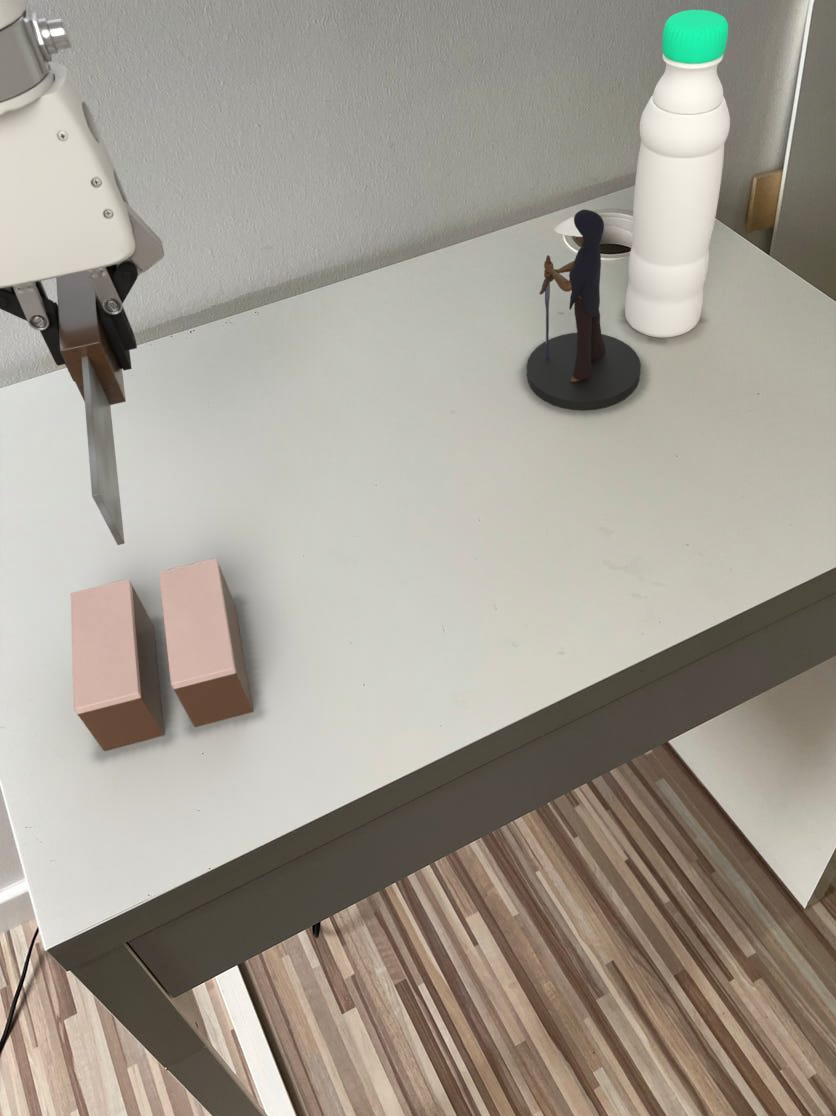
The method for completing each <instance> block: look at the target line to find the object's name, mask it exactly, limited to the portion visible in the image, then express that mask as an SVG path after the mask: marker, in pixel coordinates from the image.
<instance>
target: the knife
mask: <svg viewBox="0 0 836 1116" xmlns="http://www.w3.org/2000/svg"><path fill="white" fill-rule="evenodd" d="M55 280H56V295H57V296H56V297H57V298H56V299H57V305H58V318H59V337H60V352H61V354H62V356H63V358H64V360H65V362H66V364H67V366H68V368H69V370H70V372H71V375H72V377H73V379H74V381H75V385H76V387H77V389H78V391H79V393H80V395H81V398H82V399H83V401H84V409H85V410H84V411H85V421H86V435H87V437H86V438H87V449H88V461H89V474H90V475H89V477H90V489H91V497H92V499H93V501H94V503H95V505H96V507H97V508H98V511H99V512H100V514H101V515H102V518H103V520H104V522H105V524H106V525H107V528H108V530H109V531H110V533H111V535H112V537H113V539H114V541H115V542H116V545H117V546H121V545H124V544H125V534H124V533H125V532H124V524H123V515H122V514H123V513H122V505H121V504H122V503H121V495H120V486H119V485H120V484H119V476H118V475H119V474H118V466H117V457H116V447H115V437H114V428H113V417H112V409H111V408H112V407H111V406H113V405H117V404H122V403H126V402H127V400H126V391H125V382H124V374H123V369H120V367H119V365H118V362H117V360H116V358H115V355H114V353H113V350H112V348H111V346H110V343H109V341H108V339H107V336H106V334H105V332H104V329H103V327H102V325H101V322H100V317H99V307H98V302H97V295H96V293H95V291H94V289H93V287H92V285H91V283H90V280H89V278H88V276H87V274H86V272H80V273H76V274H71V275H66V276H61V277H57V278H55ZM71 375H70V376H71ZM72 377H71V378H72ZM73 379H72V380H73ZM74 381H73V382H74Z"/></svg>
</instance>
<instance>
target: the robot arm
mask: <svg viewBox="0 0 836 1116" xmlns="http://www.w3.org/2000/svg"><path fill="white" fill-rule="evenodd" d="M67 49H72V43H71V39H70V37H69V33H68V30H67V27H66V25H65V21H64V20H63V18H62V17H58V18H52V19H48V18H47V17H45V16H44V17H39V16H38V13H37V12H36V11H35V12H32V10H31V7H30V4H29V2H28V1H27V0H0V310H1V311H3V312H6V313H8V314H11V315H13V316H15V317H17V318H20V319H21V320H24V321H26V322H27V323H28V326H29V327H31V328H32V329H33V330H35V331H39V332H40V334H41V336H42V339H43V341H44V343H45V344H46V347H47V348H48V351H49V353H50V354H51V357H52V358H53V359H52V360H53V361H54V363H55V365H56V366H57V367H58V366H63V365H65V367H66V369H67V372H68V373H69V375H70V378H71V379H72V381H73V383H74V382H75V381H74V379H73V377H72V375H71V372H70V370H69V368H68V366H67V364H66V362H65V360H64V358H63V356H62V354H61V352H60V337H59V318H58V302H57V301H53V300H52V299H50V298H49V297H48V294H47V291H46V289H45V286H44V284H43V282H42V281H46V280H51V279H56V278H57V277H61V276H66V275H71V274H76V273H80V272H86V274H87V276H88V278H89V280H90V283H91V285H92V287H93V289H94V291H95V293H96V295H97V302H98V307H99V317H100V322H101V325H102V327H103V329H104V332H105V334H106V336H107V339H108V341H109V343H110V346H111V348H112V350H113V353H114V355H115V358H116V360H117V362H118V365H119V367H120V369H122V371H127V370H128V371H129V370H132V369H133V368H132V367H133V366H132V361H131V352H130V351H131V350H136V349H137V348H138V345H137V339H136V337H135V334H134V333H135V332H134V331H133V328H132V325H131V323H130V321H129V319H128V316H127V313H126V311H125V308H124V306H123V303H124V302H125V300H126V298H127V297H128V295H129V293H130V292H131V290H132V288H133V286H134V285H135V283H136V281H137V280H138V277H139V276H140V275H141V274H143V273H144V274H145V272H147V271H148V270H149V269H151V268H152V267H153V266H154V265H156V264H157V263H158V262H160V261H161V260H162V259H164V256H165V251H164V245H163V241H162V239H161V238H160V237H159V236H158V234H156V233H155V231H154V230H153V229H151V227H150V226H149V225H148V224H147V223H146V222H145V221H144V220H143V219H142V217H141V216H139V215H138V214H137V212H136V211H135V210H134V209H133V208H132V207H131V206H130V203H129V201H128V197H127V194H126V193H125V189H124V187H123V184H122V182H121V178H120V177H119V175H118V172H117V170H116V167H115V164H114V162H113V160H112V157H111V155H110V152H109V150H108V147H107V145H106V143H105V141H104V139H103V136H102V134H101V132H100V129H99V127H98V125H97V123H96V120H95V119H94V116H93V114H92V112H91V110H90V107H89V106H88V105H87V103H86V100H85V99H84V97H83V94H82V93H81V91H80V88H79V87H78V85H77V84H76V82H75V80H74V79H73V76H72V75H71V74H70V72H69V70H68V68H67V67H66V66H65V65H64V64H62V63H61V62H56V61H53V55H55V54H59V51H62V50H67Z"/></svg>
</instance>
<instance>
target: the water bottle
mask: <svg viewBox="0 0 836 1116" xmlns="http://www.w3.org/2000/svg"><path fill="white" fill-rule="evenodd" d="M663 26H664V27H663V31H662V39H661V40H662V41H661V50H662V60H663V62H664V63H665V69H664V72H663V74H662V75H661V77H660V79H659V80H658V82H657V83H656V85H655V87H654V91H653V92H652V93H653V94H652V95H651V96H650V98H649V99H648V101H647V103H646V105H645V107H644V109H643V111H642V113H641V116H640V119H639V120H640V121H639V136H640V137H639V138H640V146H639V152H638V158H637V164H636V165H637V166H636V174H635V181H634V182H635V183H634V184H635V185H634V193H633V194H634V195H633V207H632V208H633V209H632V245H631V248H630V252H629V258H628V269H627V270H628V271H627V272H628V273H627V274H628V284H627V289H626V295H625V301H624V317H625V320H626V322H627V323H628V325H630V327H631V328H633V329H634V330H635V331H636V332H637V333H640V334H642V335H645V336H648V337H652V338H657V339H658V338H660V339H667V338H669V339H670V338H675V337H679V336H682V335H684V334H686V333H688V332H689V331H692V329H694V328H695V327H696V326H697V325H698V323H699V321H700V319H701V316H702V312H703V311H702V309H703V301H704V284H705V282H706V278H707V275H708V270H709V260H710V250H709V248H710V247H709V246H710V244H711V239H712V235H713V231H714V226H715V221H716V216H717V210H718V204H719V198H720V193H721V192H720V191H721V185H722V176H723V168H724V157H725V156H724V155H725V142H726V141H727V139H728V137H729V132H730V126H731V115H730V110H729V107H728V104H727V100H726V98H725V96H724V89H723V84H722V82H721V80H720V77H719V75H718V72H717V71H718V66H719V63H721V62H722V61H723V58H724V53H725V51H726V48H727V45H728V38H729V23H728V21H727V19H726V18H725V17H724V16H723V15H722V14H720V13H717V12H715V11H712V10H707V9H706V10H705V9H689V10H688V9H687V10H682V11H679V12H676V13H674V14H672V15H670V17H668V19H667V20H666V21H665V24H664V25H663Z"/></svg>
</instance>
